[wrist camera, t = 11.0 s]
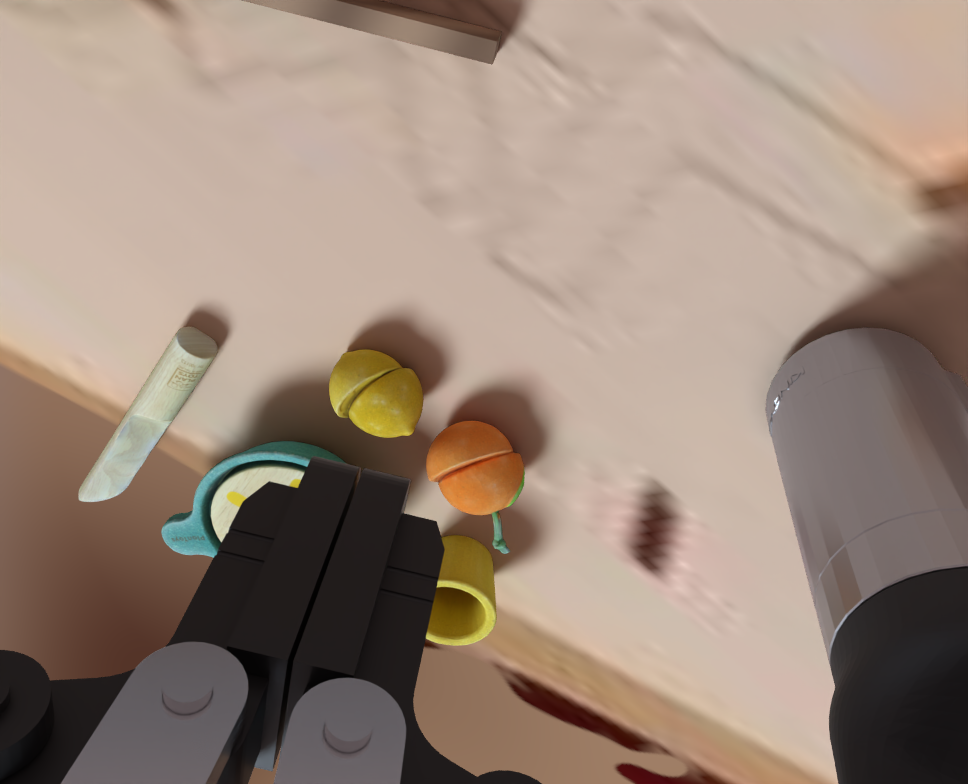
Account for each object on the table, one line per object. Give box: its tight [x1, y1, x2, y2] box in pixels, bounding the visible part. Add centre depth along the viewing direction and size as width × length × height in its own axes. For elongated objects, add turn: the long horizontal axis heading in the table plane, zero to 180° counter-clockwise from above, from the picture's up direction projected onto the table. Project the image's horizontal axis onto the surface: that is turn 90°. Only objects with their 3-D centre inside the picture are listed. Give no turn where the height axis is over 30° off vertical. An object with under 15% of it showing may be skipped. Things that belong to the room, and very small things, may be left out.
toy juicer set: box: [79, 327, 525, 645], centre depth 53 cm, size 29×18×8 cm, turn 74°
